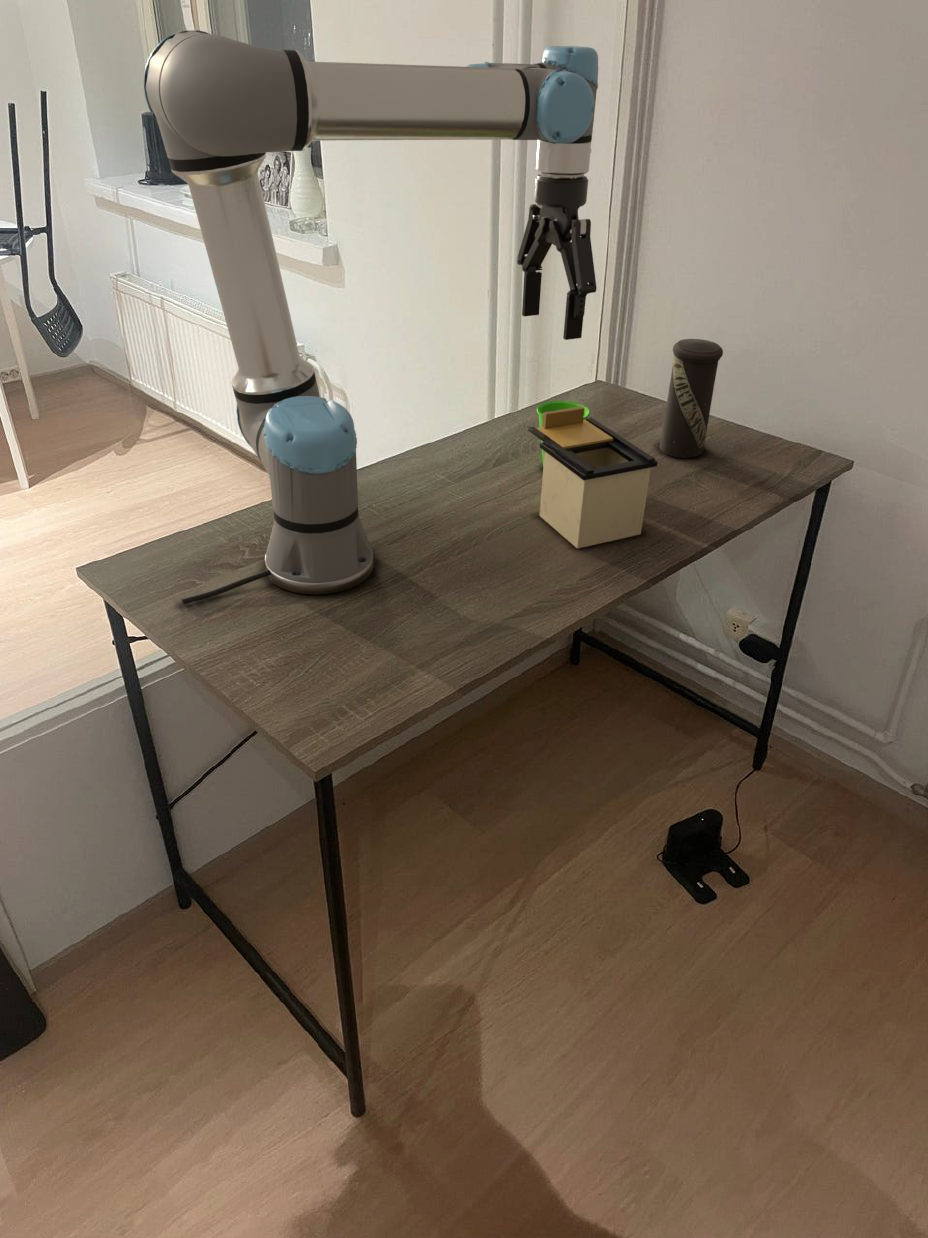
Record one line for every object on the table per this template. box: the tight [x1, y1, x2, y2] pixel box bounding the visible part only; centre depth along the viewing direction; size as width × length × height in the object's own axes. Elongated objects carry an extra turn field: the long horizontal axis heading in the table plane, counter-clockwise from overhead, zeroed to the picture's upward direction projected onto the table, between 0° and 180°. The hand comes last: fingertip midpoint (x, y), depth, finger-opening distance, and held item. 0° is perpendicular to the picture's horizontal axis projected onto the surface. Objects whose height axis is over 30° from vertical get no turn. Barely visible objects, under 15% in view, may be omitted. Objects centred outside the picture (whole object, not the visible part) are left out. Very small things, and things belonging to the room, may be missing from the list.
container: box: [659, 338, 724, 459], centre depth 164 cm, size 9×9×20 cm
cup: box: [536, 400, 591, 467], centre depth 158 cm, size 9×9×11 cm
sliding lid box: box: [527, 416, 658, 549], centre depth 142 cm, size 13×18×13 cm
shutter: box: [536, 406, 613, 449], centre depth 141 cm, size 9×8×3 cm
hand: (550, 326), depth 141 cm, fingers open, 12 cm apart
